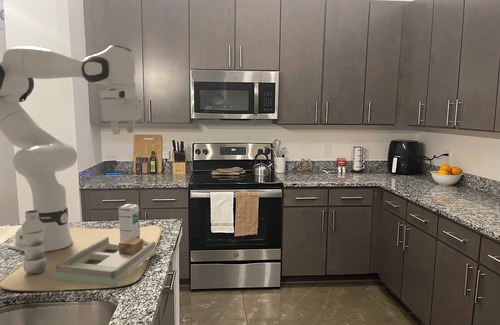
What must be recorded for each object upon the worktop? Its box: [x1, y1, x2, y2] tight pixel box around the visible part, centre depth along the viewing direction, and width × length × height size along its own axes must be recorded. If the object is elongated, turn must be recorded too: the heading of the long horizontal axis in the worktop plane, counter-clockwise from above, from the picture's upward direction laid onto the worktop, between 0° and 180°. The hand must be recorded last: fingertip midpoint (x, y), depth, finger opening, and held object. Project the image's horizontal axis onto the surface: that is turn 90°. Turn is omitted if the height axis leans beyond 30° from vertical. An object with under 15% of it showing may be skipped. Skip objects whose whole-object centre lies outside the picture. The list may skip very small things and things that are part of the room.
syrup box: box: [118, 203, 141, 243], centre depth 149 cm, size 6×6×14 cm
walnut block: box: [118, 237, 144, 255], centre depth 132 cm, size 6×6×4 cm
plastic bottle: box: [20, 209, 48, 275], centre depth 119 cm, size 6×7×20 cm
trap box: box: [54, 236, 156, 287], centre depth 126 cm, size 20×27×4 cm
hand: (123, 133), depth 132 cm, fingers open, 8 cm apart
